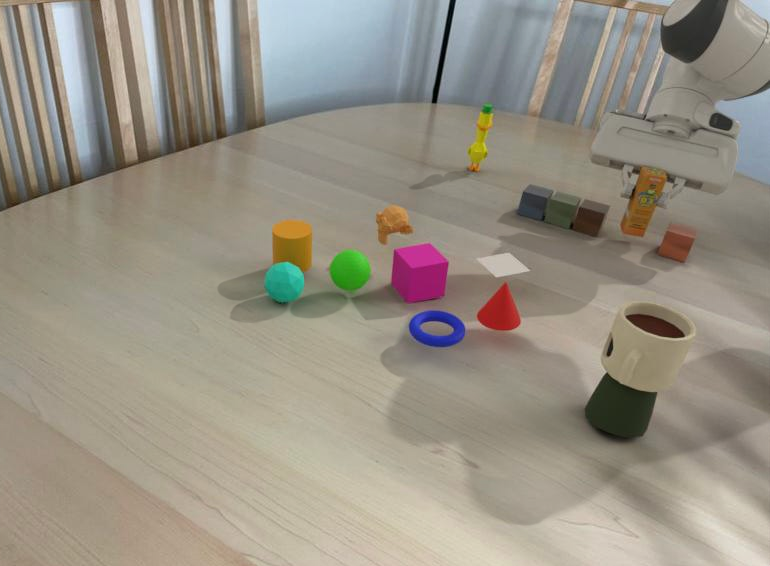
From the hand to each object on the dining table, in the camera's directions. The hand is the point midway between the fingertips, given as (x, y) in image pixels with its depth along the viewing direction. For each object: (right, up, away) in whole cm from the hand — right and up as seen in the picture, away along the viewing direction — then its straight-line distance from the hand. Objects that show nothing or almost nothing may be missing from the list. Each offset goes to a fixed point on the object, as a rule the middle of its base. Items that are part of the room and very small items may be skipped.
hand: (643, 201), depth 112 cm
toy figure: (-19, +11, +25) cm, 34 cm away
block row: (-4, -4, +6) cm, 8 cm away
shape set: (-39, -16, -16) cm, 45 cm away
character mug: (-19, -30, -34) cm, 49 cm away
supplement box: (0, -4, +4) cm, 6 cm away
